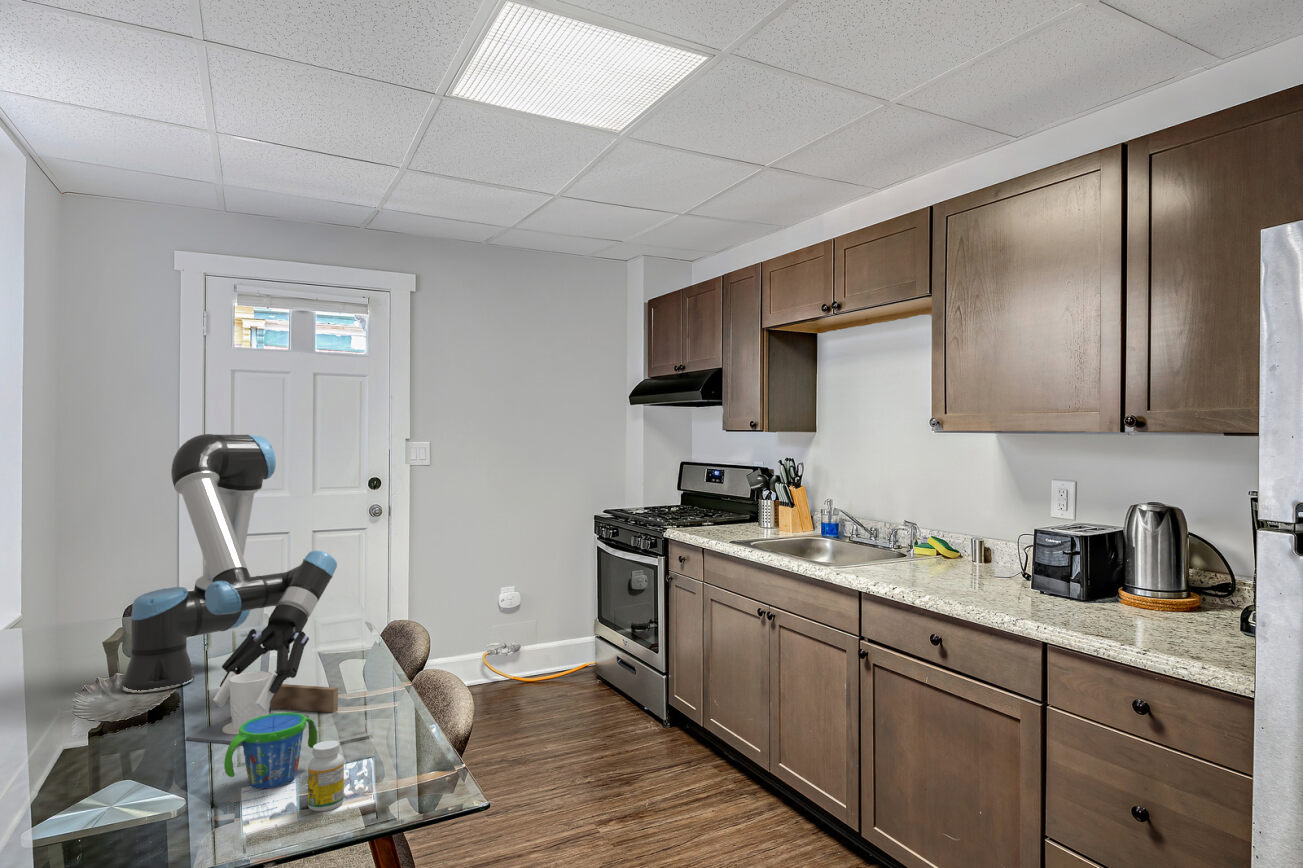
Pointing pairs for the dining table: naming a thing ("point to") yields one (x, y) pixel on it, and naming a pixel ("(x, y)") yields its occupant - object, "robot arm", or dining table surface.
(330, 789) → the supplement bottle
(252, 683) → the white cup
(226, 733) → the slate mat
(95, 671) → the dining table surface
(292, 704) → the low wall
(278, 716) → the snack cup
